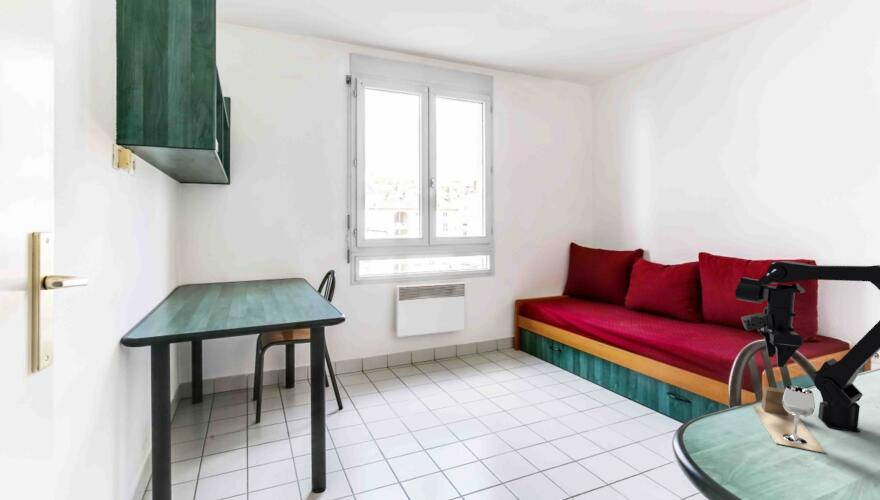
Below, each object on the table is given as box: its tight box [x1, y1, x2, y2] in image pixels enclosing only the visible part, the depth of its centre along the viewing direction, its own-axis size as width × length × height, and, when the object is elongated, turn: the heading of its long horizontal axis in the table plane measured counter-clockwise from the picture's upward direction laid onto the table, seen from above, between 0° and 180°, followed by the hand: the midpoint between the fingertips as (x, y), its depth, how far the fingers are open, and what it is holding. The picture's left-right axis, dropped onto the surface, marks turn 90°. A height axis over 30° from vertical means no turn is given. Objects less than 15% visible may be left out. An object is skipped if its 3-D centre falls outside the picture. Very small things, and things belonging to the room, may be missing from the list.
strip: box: [752, 385, 827, 454], centre depth 107 cm, size 9×22×6 cm, turn 156°
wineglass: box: [782, 385, 815, 444], centre depth 101 cm, size 6×6×12 cm
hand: (775, 361), depth 121 cm, fingers open, 9 cm apart
